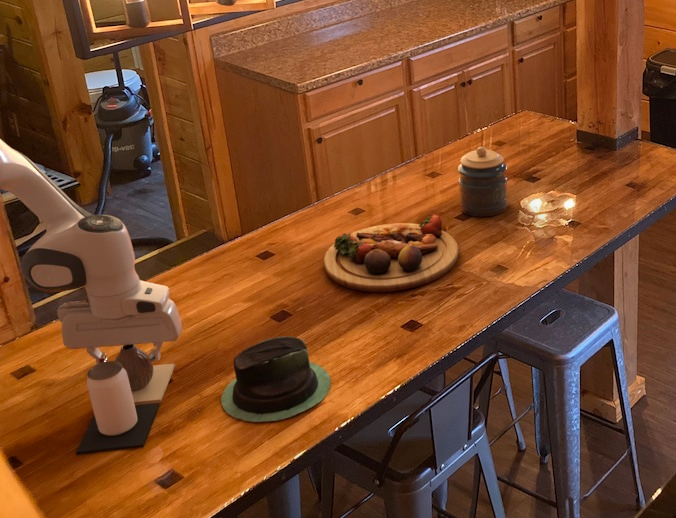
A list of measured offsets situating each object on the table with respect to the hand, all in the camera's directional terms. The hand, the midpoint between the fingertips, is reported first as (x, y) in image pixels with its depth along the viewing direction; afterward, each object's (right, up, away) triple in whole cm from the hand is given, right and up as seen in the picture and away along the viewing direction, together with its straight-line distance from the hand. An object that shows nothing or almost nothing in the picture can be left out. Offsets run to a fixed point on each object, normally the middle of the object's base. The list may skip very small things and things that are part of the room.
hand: (129, 361), depth 181 cm
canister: (+58, +27, +77) cm, 100 cm away
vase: (0, -5, +2) cm, 6 cm away
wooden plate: (+39, +15, +50) cm, 65 cm away
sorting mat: (+1, -8, -3) cm, 9 cm away
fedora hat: (+27, -6, +2) cm, 28 cm away
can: (+2, -10, -9) cm, 14 cm away
